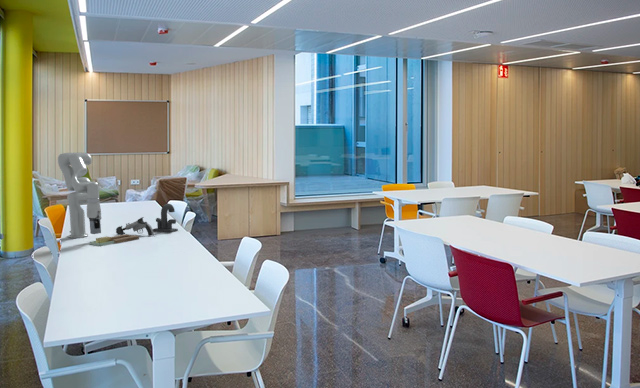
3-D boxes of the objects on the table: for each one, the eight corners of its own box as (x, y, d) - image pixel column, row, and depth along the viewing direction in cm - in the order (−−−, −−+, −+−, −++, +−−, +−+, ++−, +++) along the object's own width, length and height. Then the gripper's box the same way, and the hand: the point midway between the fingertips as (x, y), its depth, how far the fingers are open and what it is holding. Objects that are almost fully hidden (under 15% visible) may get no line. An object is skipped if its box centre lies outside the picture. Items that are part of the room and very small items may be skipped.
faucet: (184, 229, 419) (183, 202, 417) (171, 232, 404) (170, 205, 402) (164, 228, 426) (163, 202, 423) (151, 231, 411) (149, 204, 409)
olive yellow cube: (101, 243, 366) (101, 237, 366) (106, 242, 369) (106, 236, 369) (105, 244, 364) (104, 237, 363) (110, 242, 367) (110, 236, 367)
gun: (151, 235, 391) (143, 215, 391) (121, 248, 398) (113, 229, 398) (155, 233, 396) (147, 214, 396) (125, 246, 403) (117, 227, 403)
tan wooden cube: (96, 244, 363) (95, 238, 362) (101, 243, 366) (101, 237, 366) (99, 245, 361) (99, 238, 360) (105, 244, 364) (104, 237, 363)
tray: (90, 244, 363) (89, 241, 363) (104, 242, 372) (104, 239, 372) (100, 246, 357) (99, 243, 357) (114, 243, 366) (114, 240, 365)
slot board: (103, 241, 373) (103, 238, 373) (126, 237, 387) (126, 234, 387) (115, 244, 365) (115, 240, 364) (139, 239, 379) (139, 236, 379)
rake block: (90, 233, 371) (89, 217, 370) (97, 232, 375) (96, 216, 374) (94, 234, 369) (93, 217, 367) (101, 232, 373) (100, 216, 372)
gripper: (81, 201, 372) (82, 228, 373) (95, 202, 362) (97, 230, 364) (91, 199, 378) (93, 226, 379) (106, 201, 368) (107, 228, 370)
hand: (95, 227), depth 371 cm, fingers closed on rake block, 4 cm apart
